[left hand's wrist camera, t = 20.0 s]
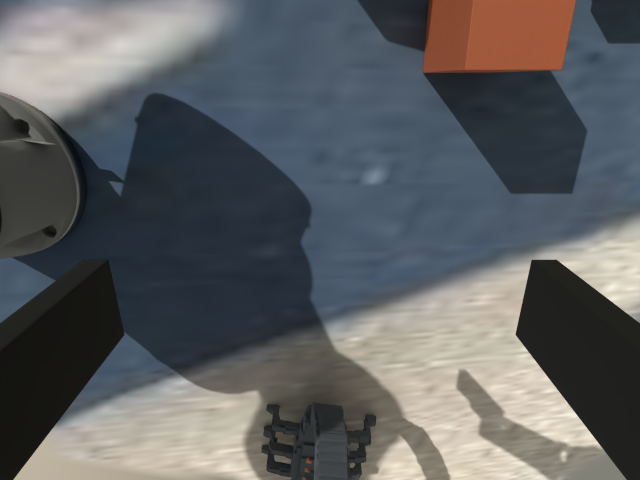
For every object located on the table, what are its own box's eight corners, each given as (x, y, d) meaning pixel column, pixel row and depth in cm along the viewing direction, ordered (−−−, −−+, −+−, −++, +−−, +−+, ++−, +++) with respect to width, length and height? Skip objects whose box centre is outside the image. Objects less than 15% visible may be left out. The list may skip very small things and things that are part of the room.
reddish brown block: (422, 73, 35) (464, 70, 25) (429, -7, 33) (478, -46, 22) (491, 72, 35) (562, 69, 25) (503, -7, 33) (586, -47, 22)
